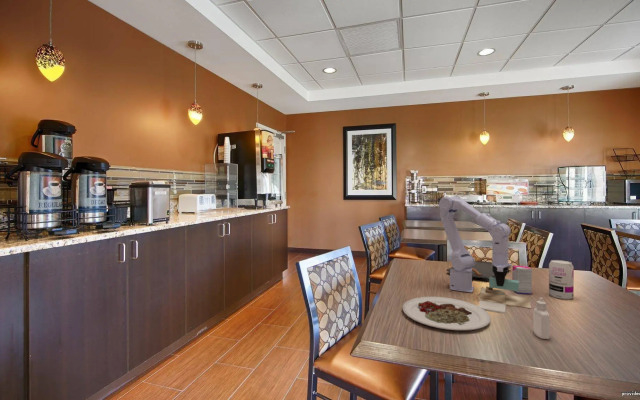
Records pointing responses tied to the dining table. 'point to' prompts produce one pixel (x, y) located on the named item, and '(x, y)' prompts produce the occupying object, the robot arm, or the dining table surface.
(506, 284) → the teal bar
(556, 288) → the supplement can
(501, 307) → the grey tile
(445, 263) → the dining table surface
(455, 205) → the robot arm
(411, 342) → the dining table surface
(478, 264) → the serving board
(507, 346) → the dining table surface
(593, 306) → the dining table surface
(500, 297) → the board
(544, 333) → the eye dropper bottle
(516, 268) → the supplement box
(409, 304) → the plated food
